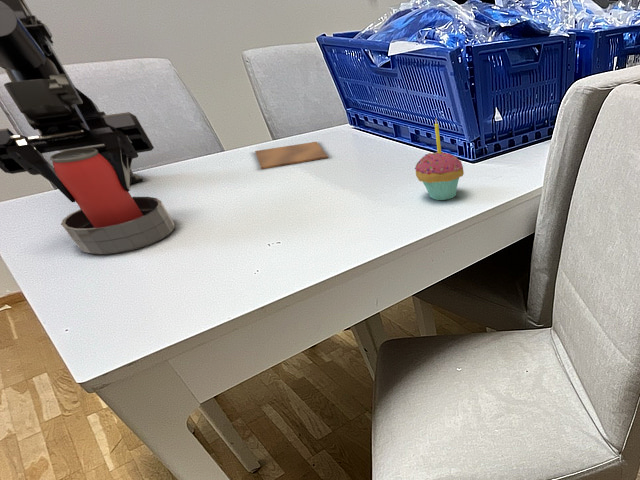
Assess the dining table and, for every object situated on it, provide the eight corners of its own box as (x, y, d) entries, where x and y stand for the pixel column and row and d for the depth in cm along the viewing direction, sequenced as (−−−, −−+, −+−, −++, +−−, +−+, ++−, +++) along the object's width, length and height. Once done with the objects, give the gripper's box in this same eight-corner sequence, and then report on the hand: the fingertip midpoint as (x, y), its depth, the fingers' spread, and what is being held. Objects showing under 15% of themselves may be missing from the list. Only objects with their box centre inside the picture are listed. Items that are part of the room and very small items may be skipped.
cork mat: (261, 169, 96) (260, 167, 95) (255, 152, 105) (254, 151, 104) (328, 158, 100) (327, 156, 100) (317, 143, 109) (316, 141, 109)
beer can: (128, 245, 69) (70, 161, 61) (93, 242, 70) (32, 159, 62) (161, 227, 74) (112, 147, 65) (128, 225, 75) (75, 146, 66)
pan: (70, 240, 72) (51, 215, 69) (158, 214, 79) (144, 190, 76) (95, 263, 65) (75, 237, 63) (188, 233, 72) (174, 208, 70)
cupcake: (428, 186, 86) (416, 114, 77) (471, 188, 85) (463, 115, 76) (414, 203, 80) (398, 127, 71) (460, 205, 79) (449, 128, 70)
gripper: (-90, 58, 54) (-22, 178, 55) (95, 44, 62) (151, 149, 63) (-23, 121, 64) (33, 221, 65) (129, 101, 72) (177, 192, 73)
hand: (100, 195), depth 66 cm, fingers closed on beer can, 6 cm apart
